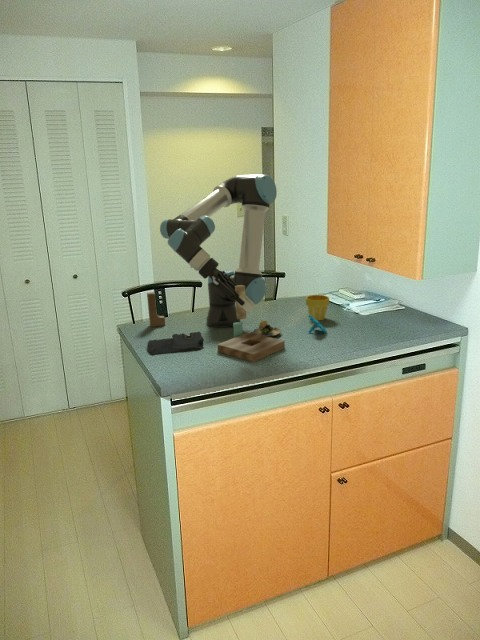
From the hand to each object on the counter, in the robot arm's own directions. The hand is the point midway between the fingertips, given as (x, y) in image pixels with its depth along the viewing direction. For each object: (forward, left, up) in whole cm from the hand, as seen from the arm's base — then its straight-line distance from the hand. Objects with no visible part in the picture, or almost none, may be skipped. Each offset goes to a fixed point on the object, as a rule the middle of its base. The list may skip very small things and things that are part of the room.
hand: (251, 308), depth 188 cm
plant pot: (-5, +51, -17) cm, 54 cm away
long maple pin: (-3, -2, -4) cm, 5 cm away
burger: (-9, +20, -18) cm, 28 cm away
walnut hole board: (-2, +2, -17) cm, 17 cm away
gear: (+6, +34, -17) cm, 39 cm away
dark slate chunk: (-29, -13, -18) cm, 37 cm away
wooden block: (-58, +2, -17) cm, 61 cm away
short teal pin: (-14, +8, -17) cm, 24 cm away
